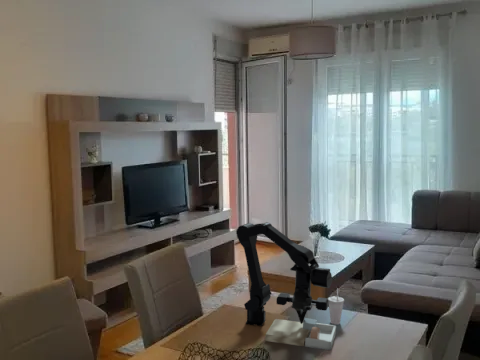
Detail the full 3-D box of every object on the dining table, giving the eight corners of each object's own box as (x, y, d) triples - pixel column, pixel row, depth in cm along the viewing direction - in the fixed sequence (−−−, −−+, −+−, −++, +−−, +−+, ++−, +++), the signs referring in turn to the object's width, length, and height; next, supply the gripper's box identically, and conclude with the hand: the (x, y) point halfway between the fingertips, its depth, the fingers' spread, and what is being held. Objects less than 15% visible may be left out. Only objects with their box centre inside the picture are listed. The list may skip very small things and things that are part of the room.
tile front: (310, 331, 176) (317, 332, 175) (312, 326, 180) (319, 327, 179) (310, 343, 176) (317, 344, 176) (312, 338, 181) (319, 339, 180)
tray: (305, 346, 176) (305, 338, 175) (312, 329, 190) (312, 322, 190) (330, 350, 173) (331, 342, 173) (336, 333, 187) (336, 325, 187)
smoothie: (343, 326, 193) (344, 291, 192) (326, 325, 195) (327, 290, 193) (343, 320, 200) (344, 286, 198) (327, 318, 201) (328, 285, 199)
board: (265, 340, 180) (265, 334, 180) (275, 325, 194) (275, 318, 194) (303, 346, 176) (303, 339, 176) (310, 329, 190) (311, 323, 190)
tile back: (302, 328, 185) (303, 322, 184) (304, 324, 189) (304, 317, 189) (314, 330, 183) (315, 324, 183) (316, 326, 188) (316, 319, 187)
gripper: (273, 286, 180) (272, 328, 182) (325, 293, 174) (323, 335, 176) (280, 277, 191) (279, 317, 192) (329, 283, 185) (327, 323, 187)
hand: (301, 323), depth 187 cm, fingers closed
